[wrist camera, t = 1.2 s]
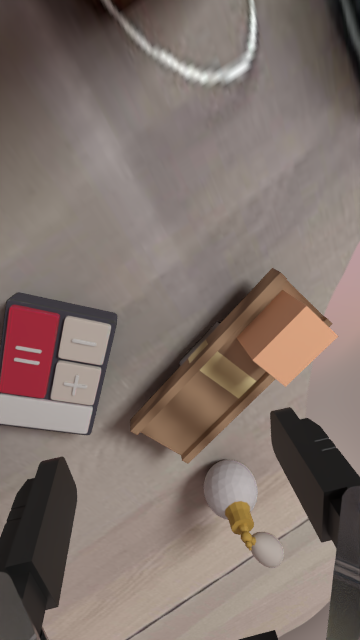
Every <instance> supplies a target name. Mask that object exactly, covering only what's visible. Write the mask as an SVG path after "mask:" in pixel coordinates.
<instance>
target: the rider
mask: <svg viewBox="0 0 360 640" xmlns="http://www.w3.org/2000/svg"><path fill="white" fill-rule="evenodd" d="M337 337H338V336H337V335H336V334H335V333H334V332H333V331H332V330H331V329H330V328H329V327H328V326H327V325H326V324H325V323H324V322H323V321H322V320H321V319H320V318H319V317H318V316H317V315H316V314H315V313H314V312H313V311H312V310H311V309H310V308H309V307H308V306H306V305H305V304H303V303H302V302H300V301H299V300H297V299H296V298H294V297H293V296H291V295H290V294H288V293H287V292H285V291H284V290H282V291H281V292H280V293H279V294H278V295H277V296H276V297H275V298H274V299H273V300H272V301H271V302H270V303H269V304H268V305H267V306H266V308H265V309H264V310H263V311H262V312H261V313H260V314H259V315H258V316H257V317H256V318H255V319H254V320H253V321H252V322H251V323H250V324H249V325H248V326H247V327H246V328H245V329H244V330H243V331H242V332H241V334H240V335H239V336H238V337H237V339H238V341H239V342H240V343H241V345H242V346H243V348H244V349H245V350H246V352H247V353H248V355H249V356H250V358H251V359H252V360H253V361H254V362H255V363H257V364H258V365H259V366H260V367H262V368H263V369H264V370H265V371H267V372H268V373H269V374H270V375H272V376H273V377H274V378H275V379H277V380H278V381H279V382H280V383H282V384H283V385H284V386H285V387H286V386H287V385H288V384H289V383H290V382H291V381H292V380H293V379H294V378H295V377H296V376H297V375H298V374H299V373H300V372H301V371H302V370H303V369H305V368H306V367H307V366H308V365H309V364H310V363H311V362H312V361H313V360H314V359H315V358H316V357H317V356H318V355H319V354H320V353H321V352H322V351H323V350H324V349H326V348H327V346H329V345H330V344H331V343H332V342H333V341H334V340H335V339H336V338H337Z"/></svg>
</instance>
